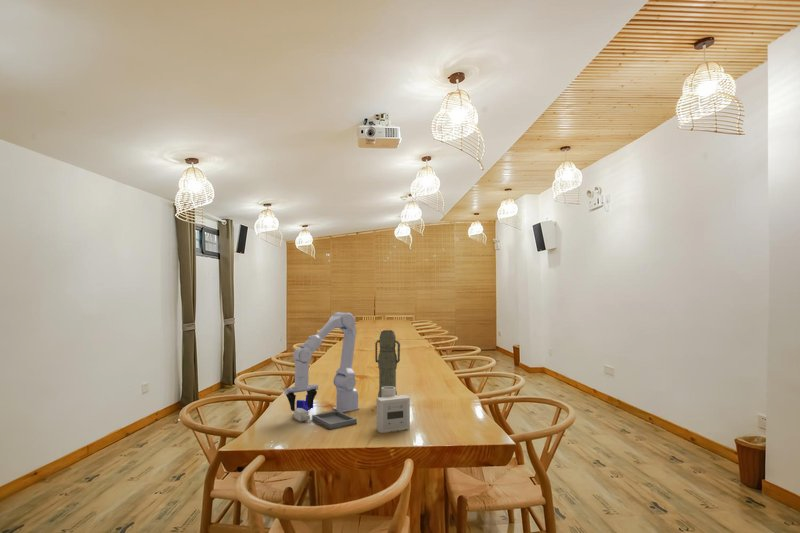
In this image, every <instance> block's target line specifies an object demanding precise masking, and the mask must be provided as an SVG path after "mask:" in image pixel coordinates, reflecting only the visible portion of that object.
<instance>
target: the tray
mask: <svg viewBox="0 0 800 533" xmlns="http://www.w3.org/2000/svg"><path fill="white" fill-rule="evenodd" d="M311 420H312V421H313V422H315V423H316V424H319V425H321V426H323V427H324V428H326V429H328V430H336V429H339V428H344V427H349V426H353V425H357V424H358V423H357V422H358V418H355V417H353V416H351V415H349V414H346V413H345V412H340V411H338V410H332V411H327V412H322V413H317V414H312V415H311Z"/></svg>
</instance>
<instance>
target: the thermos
mask: <svg viewBox="0 0 800 533" xmlns="http://www.w3.org/2000/svg"><path fill="white" fill-rule="evenodd" d="M396 339H397V338H396V334H395V331H393V329H391V330H389V329H386V330H385V329H384V330H382V331H380V334H379V339H377V340H376V342H375V343H374V344H375V345H374V348H375V350H374V352H375V354H374V355H375V356H374V358H375V363H377V365H378V367H377V368H378V374H379V377H378V379H379V381H378V383H379V385H378V387H379V388H378V389H379V390H378V393H377V398H380V397H382V387H385V386H392V387H395V394H396V395H398V391H397V367H398V364H399V362H400V360H401V342H399V340H396ZM378 344H379V354H378ZM396 346H397V347H396ZM396 348H397V351H396ZM396 352H397V353H396Z"/></svg>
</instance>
